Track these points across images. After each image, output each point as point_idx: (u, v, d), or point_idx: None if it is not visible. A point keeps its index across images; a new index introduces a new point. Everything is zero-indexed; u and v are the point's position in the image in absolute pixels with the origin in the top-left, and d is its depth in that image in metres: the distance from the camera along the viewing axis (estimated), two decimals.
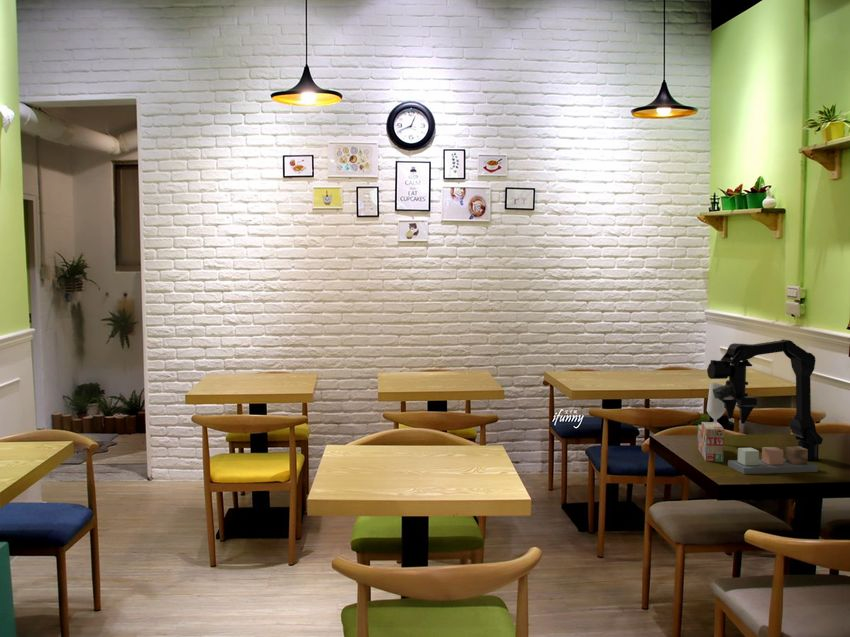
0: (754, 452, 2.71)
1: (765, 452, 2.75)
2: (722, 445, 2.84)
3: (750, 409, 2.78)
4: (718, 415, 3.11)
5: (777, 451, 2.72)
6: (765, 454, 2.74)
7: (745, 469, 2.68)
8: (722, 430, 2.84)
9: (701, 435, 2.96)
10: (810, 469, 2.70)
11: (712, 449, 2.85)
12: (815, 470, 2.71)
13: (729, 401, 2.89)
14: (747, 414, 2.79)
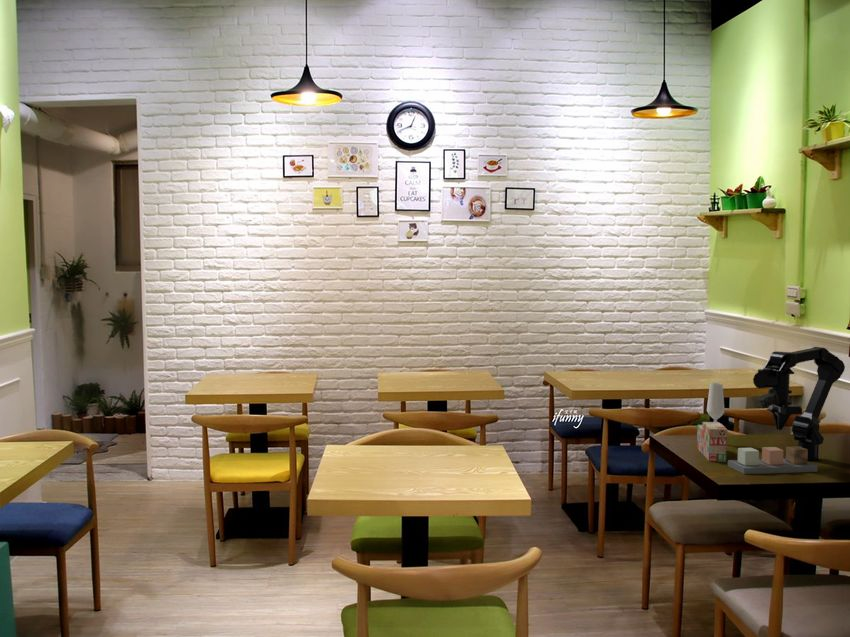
0: (754, 452, 2.71)
1: (765, 452, 2.75)
2: (725, 445, 2.84)
3: (788, 416, 2.80)
4: (718, 415, 3.11)
5: (777, 451, 2.72)
6: (765, 454, 2.74)
7: (745, 469, 2.68)
8: (725, 430, 2.84)
9: (702, 435, 2.96)
10: (810, 469, 2.70)
11: (715, 449, 2.85)
12: (815, 470, 2.71)
13: None
14: (785, 420, 2.81)
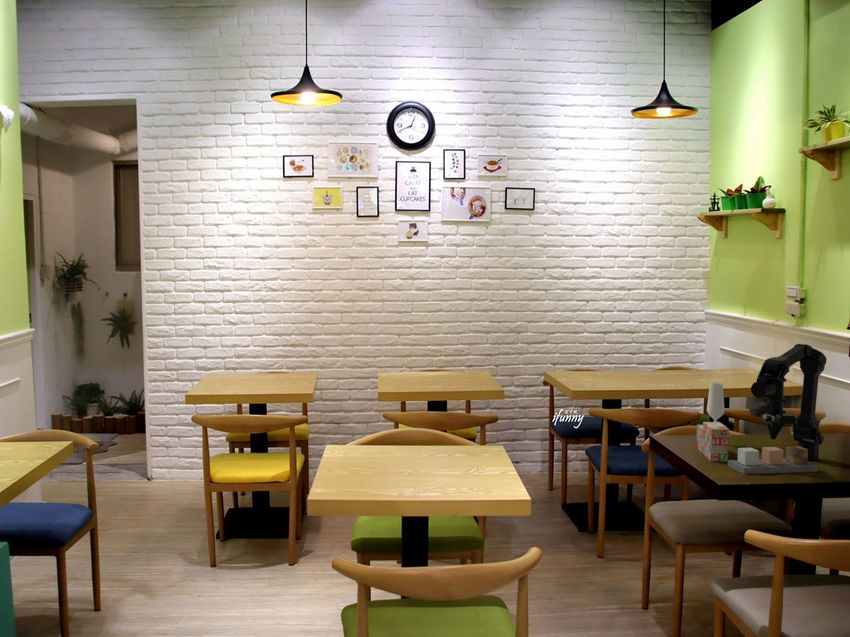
0: (754, 452, 2.71)
1: (765, 452, 2.75)
2: (727, 445, 2.84)
3: (781, 425, 2.72)
4: (718, 415, 3.11)
5: (777, 451, 2.72)
6: (765, 454, 2.74)
7: (745, 469, 2.68)
8: (727, 430, 2.84)
9: (703, 435, 2.96)
10: (810, 469, 2.70)
11: (717, 449, 2.85)
12: (815, 470, 2.71)
13: None
14: (778, 430, 2.73)
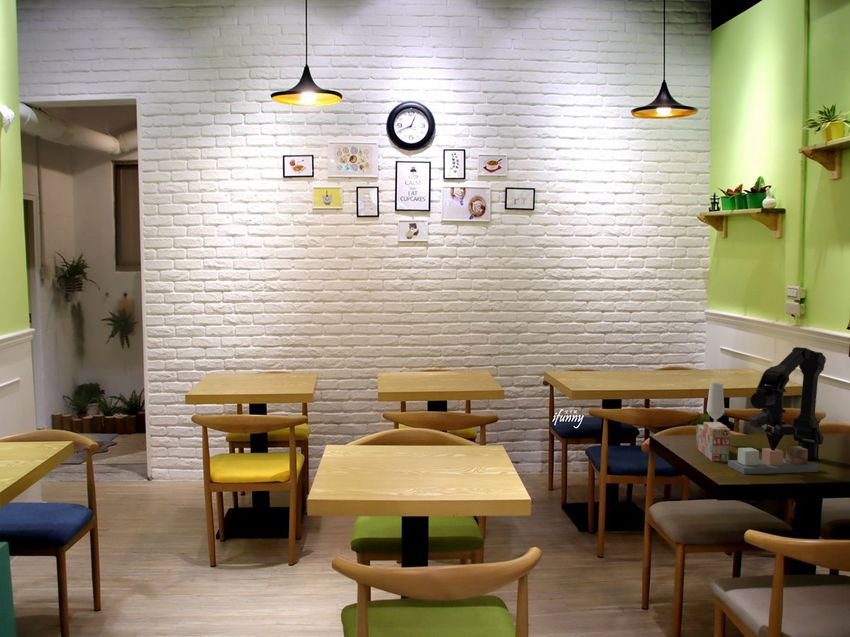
0: (754, 452, 2.71)
1: (764, 454, 2.75)
2: (728, 445, 2.84)
3: (781, 435, 2.72)
4: (718, 415, 3.11)
5: (777, 452, 2.72)
6: (765, 455, 2.74)
7: (745, 469, 2.68)
8: (728, 430, 2.84)
9: (703, 435, 2.96)
10: (810, 469, 2.70)
11: (718, 449, 2.85)
12: (815, 470, 2.71)
13: None
14: (778, 440, 2.73)
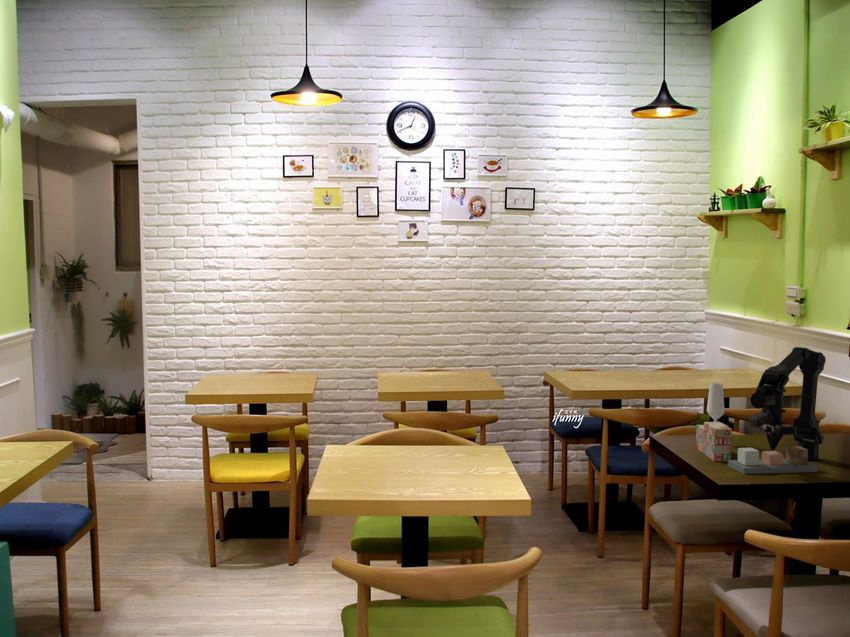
0: (754, 452, 2.71)
1: (764, 456, 2.75)
2: (730, 445, 2.84)
3: (781, 435, 2.72)
4: (718, 415, 3.11)
5: (777, 455, 2.72)
6: (765, 458, 2.74)
7: (745, 469, 2.68)
8: (730, 430, 2.84)
9: (704, 435, 2.96)
10: (810, 469, 2.70)
11: (720, 449, 2.85)
12: (815, 470, 2.71)
13: None
14: (777, 440, 2.73)
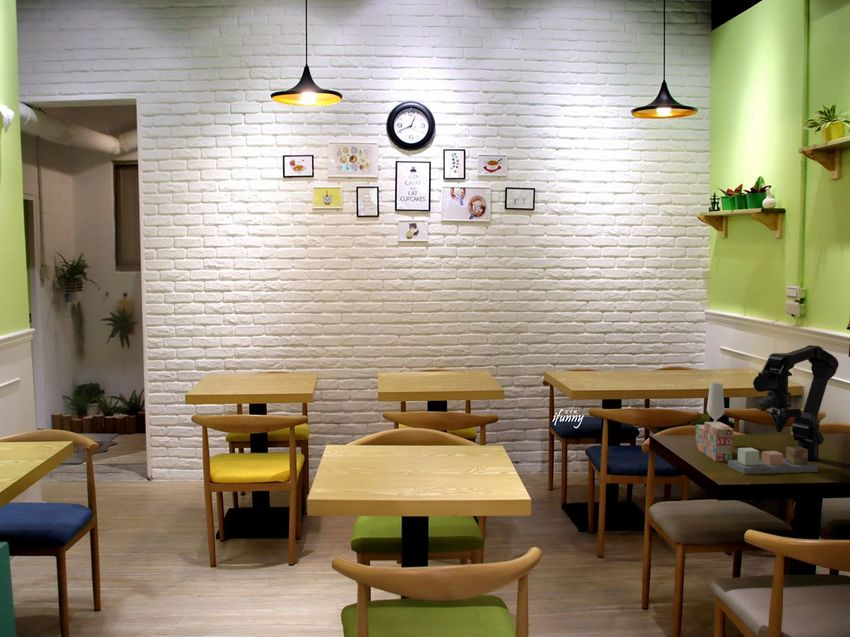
0: (754, 452, 2.71)
1: (764, 456, 2.75)
2: (731, 445, 2.85)
3: (786, 418, 2.78)
4: (718, 415, 3.11)
5: (777, 455, 2.72)
6: (765, 458, 2.74)
7: (745, 469, 2.68)
8: (731, 430, 2.84)
9: (704, 435, 2.96)
10: (810, 469, 2.70)
11: (722, 449, 2.85)
12: (815, 470, 2.71)
13: None
14: (783, 423, 2.79)
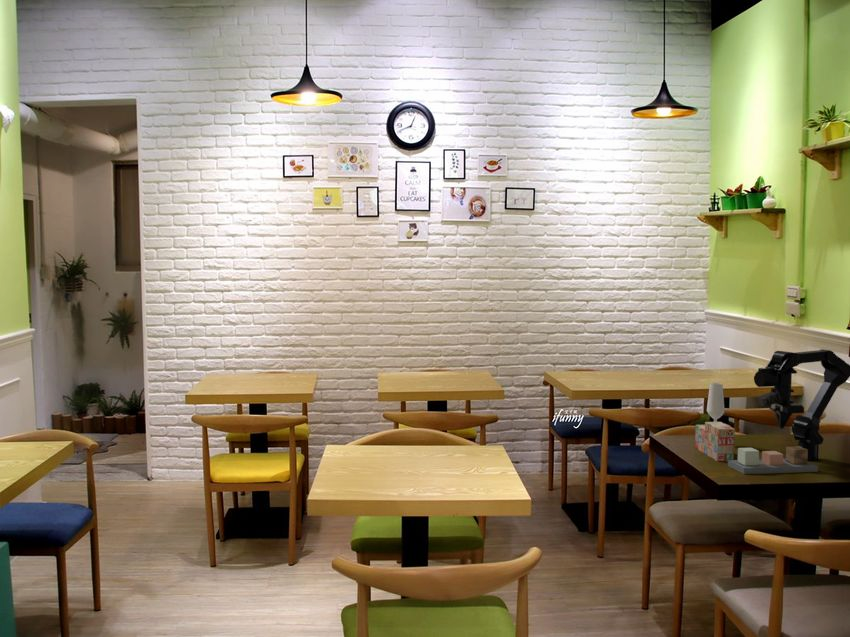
0: (754, 452, 2.71)
1: (764, 456, 2.75)
2: (733, 444, 2.85)
3: (789, 414, 2.83)
4: (718, 415, 3.11)
5: (777, 455, 2.72)
6: (765, 458, 2.74)
7: (745, 469, 2.68)
8: (733, 429, 2.84)
9: (705, 435, 2.96)
10: (810, 469, 2.70)
11: (723, 449, 2.85)
12: (815, 470, 2.71)
13: None
14: (786, 419, 2.83)
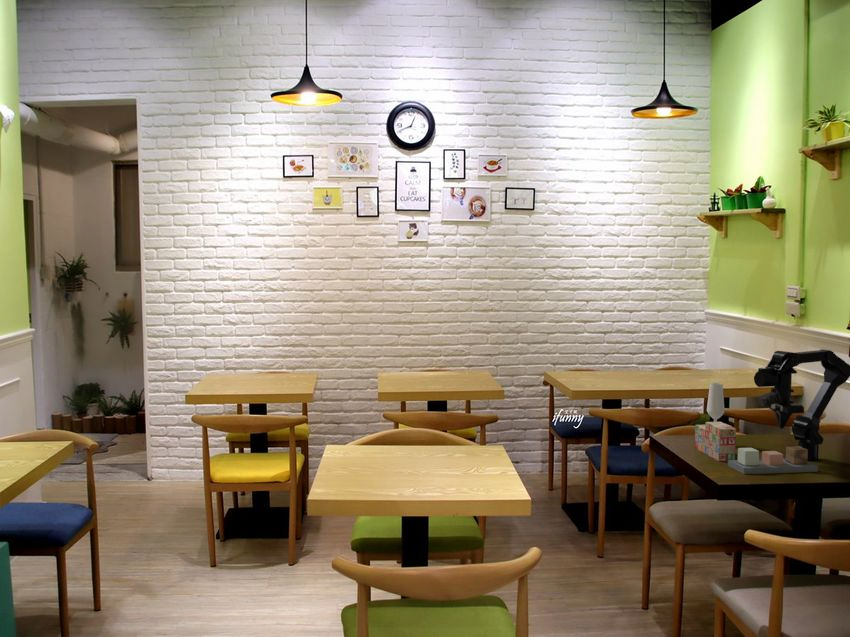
0: (754, 452, 2.71)
1: (764, 456, 2.75)
2: (734, 444, 2.85)
3: (789, 414, 2.83)
4: (718, 415, 3.11)
5: (777, 455, 2.72)
6: (765, 458, 2.74)
7: (745, 469, 2.68)
8: (734, 429, 2.85)
9: (705, 435, 2.96)
10: (810, 469, 2.70)
11: (725, 449, 2.85)
12: (815, 470, 2.71)
13: None
14: (786, 419, 2.83)
